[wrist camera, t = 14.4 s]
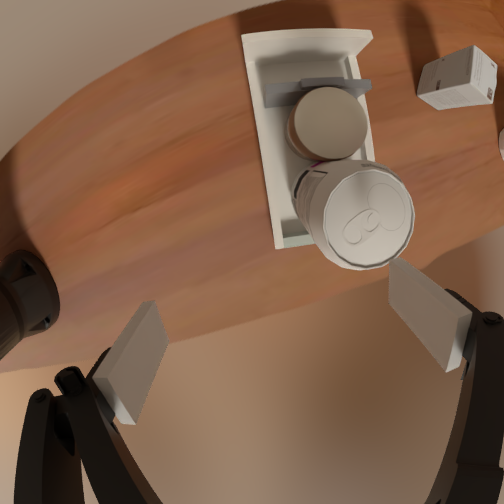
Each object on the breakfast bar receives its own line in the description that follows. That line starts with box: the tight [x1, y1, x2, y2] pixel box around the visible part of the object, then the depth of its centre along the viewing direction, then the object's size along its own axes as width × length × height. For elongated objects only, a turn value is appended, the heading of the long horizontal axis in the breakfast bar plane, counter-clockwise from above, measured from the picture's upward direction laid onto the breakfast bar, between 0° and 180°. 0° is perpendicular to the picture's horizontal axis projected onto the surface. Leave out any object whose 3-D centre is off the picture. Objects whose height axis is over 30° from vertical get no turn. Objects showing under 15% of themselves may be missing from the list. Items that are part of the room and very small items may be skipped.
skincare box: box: [417, 45, 497, 110], centre depth 23 cm, size 6×4×12 cm
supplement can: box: [291, 160, 415, 270], centre depth 25 cm, size 8×8×15 cm
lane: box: [241, 28, 375, 249], centre depth 28 cm, size 13×23×9 cm, turn 9°
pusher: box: [264, 77, 372, 108], centre depth 26 cm, size 10×1×8 cm, turn 99°
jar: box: [284, 87, 368, 161], centre depth 27 cm, size 7×7×9 cm
